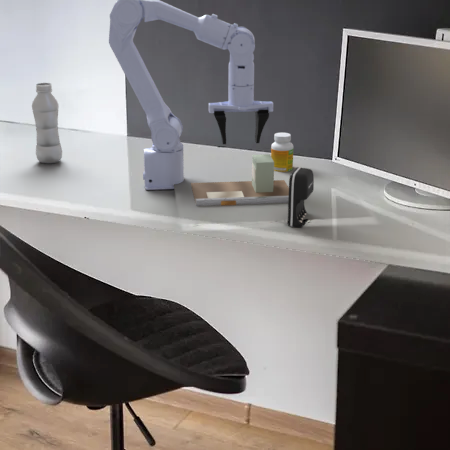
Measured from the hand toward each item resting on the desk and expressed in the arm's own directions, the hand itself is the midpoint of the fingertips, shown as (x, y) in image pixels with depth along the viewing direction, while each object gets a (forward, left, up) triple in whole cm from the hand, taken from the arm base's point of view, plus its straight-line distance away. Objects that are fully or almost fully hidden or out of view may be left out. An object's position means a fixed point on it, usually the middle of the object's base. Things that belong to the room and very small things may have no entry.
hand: (240, 142), depth 190 cm
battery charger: (+9, -24, -11) cm, 28 cm away
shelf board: (-1, -7, -11) cm, 13 cm away
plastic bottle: (-46, +23, -11) cm, 52 cm away
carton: (+4, -5, -9) cm, 12 cm away
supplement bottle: (+11, +9, -11) cm, 18 cm away
